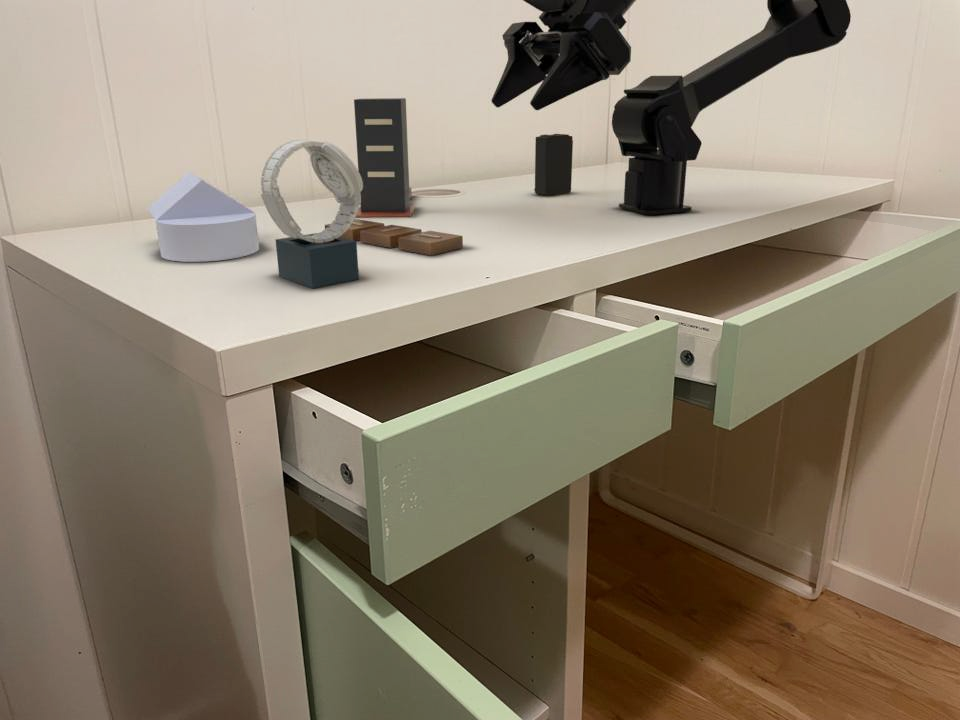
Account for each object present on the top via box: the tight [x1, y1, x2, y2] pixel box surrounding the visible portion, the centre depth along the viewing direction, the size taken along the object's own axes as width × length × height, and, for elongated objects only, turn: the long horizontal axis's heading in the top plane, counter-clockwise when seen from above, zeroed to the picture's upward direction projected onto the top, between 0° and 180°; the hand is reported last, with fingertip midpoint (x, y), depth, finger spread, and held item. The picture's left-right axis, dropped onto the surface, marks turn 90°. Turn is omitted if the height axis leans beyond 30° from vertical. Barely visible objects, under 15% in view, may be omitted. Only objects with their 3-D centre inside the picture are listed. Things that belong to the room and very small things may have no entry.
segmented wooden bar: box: [324, 218, 464, 257], centre depth 78 cm, size 15×4×1 cm, turn 50°
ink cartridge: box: [533, 133, 574, 197], centre depth 108 cm, size 5×2×8 cm, turn 127°
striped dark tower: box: [353, 97, 411, 212], centre depth 94 cm, size 4×6×13 cm, turn 86°
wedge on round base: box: [147, 171, 260, 263], centre depth 76 cm, size 9×7×13 cm
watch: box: [260, 139, 363, 289], centre depth 63 cm, size 6×8×11 cm
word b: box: [355, 186, 415, 218], centre depth 100 cm, size 17×7×1 cm, turn 0°
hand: (512, 105), depth 83 cm, fingers open, 9 cm apart
